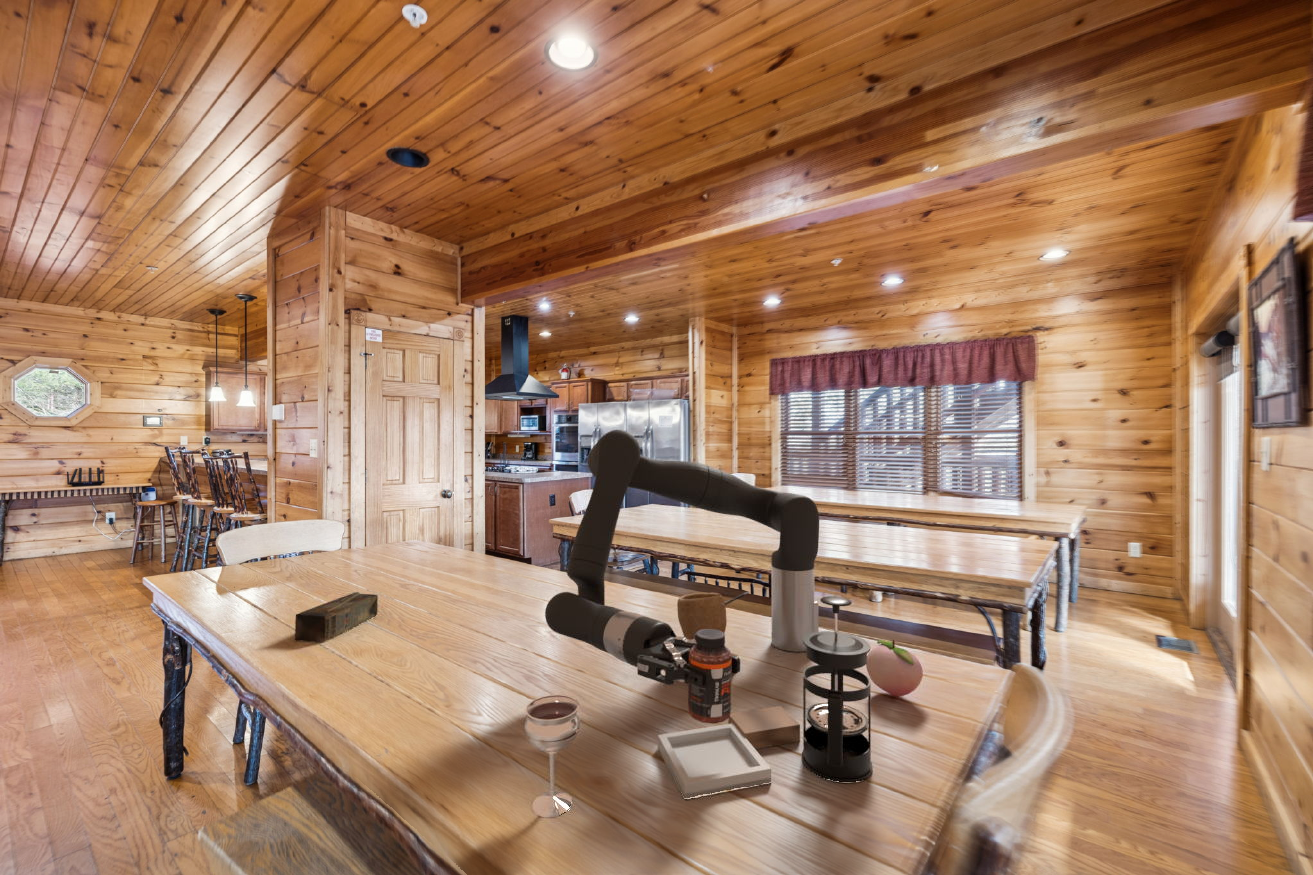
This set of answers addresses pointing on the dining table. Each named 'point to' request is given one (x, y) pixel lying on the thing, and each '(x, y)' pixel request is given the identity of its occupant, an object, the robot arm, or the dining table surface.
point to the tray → (712, 760)
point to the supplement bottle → (717, 660)
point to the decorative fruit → (894, 669)
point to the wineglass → (552, 743)
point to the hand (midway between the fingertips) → (724, 672)
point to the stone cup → (701, 613)
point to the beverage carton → (335, 617)
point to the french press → (836, 705)
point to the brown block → (766, 726)
